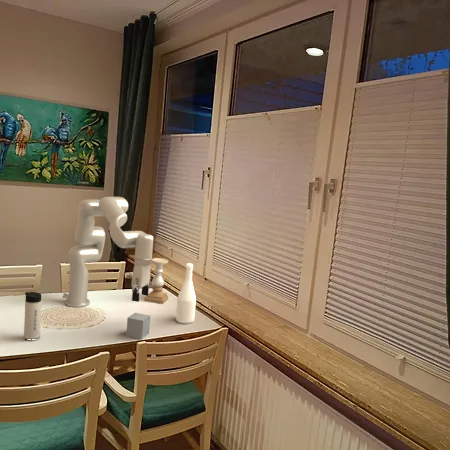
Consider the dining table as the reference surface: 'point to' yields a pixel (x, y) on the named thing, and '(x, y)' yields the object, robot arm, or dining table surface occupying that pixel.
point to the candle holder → (158, 283)
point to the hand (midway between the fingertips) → (140, 298)
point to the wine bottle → (186, 299)
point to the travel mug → (32, 315)
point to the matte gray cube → (138, 325)
